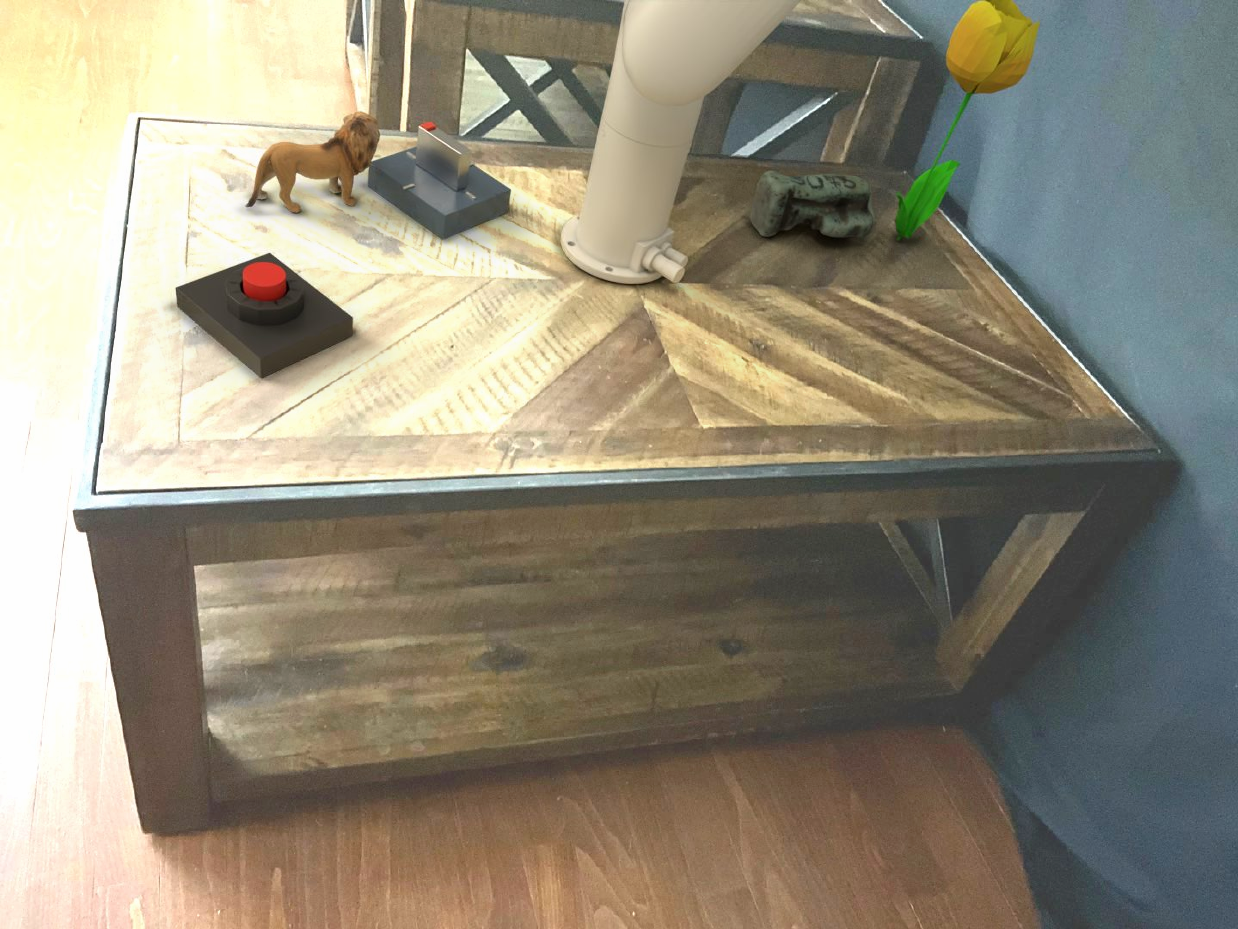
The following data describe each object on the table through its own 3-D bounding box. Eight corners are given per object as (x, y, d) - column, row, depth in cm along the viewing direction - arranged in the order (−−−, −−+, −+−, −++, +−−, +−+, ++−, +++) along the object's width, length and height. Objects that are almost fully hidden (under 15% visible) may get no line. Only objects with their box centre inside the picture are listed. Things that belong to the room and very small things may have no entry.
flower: (884, 258, 126) (999, 17, 105) (856, 221, 131) (960, -16, 111) (941, 259, 129) (1064, 24, 108) (912, 222, 134) (1023, -8, 114)
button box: (352, 336, 95) (354, 301, 92) (261, 378, 88) (259, 342, 85) (270, 271, 99) (269, 236, 96) (177, 307, 92) (173, 270, 90)
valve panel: (510, 211, 115) (513, 187, 113) (440, 240, 108) (443, 215, 106) (436, 162, 119) (439, 137, 117) (364, 187, 112) (366, 161, 110)
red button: (294, 293, 92) (294, 277, 90) (260, 307, 89) (260, 291, 88) (269, 273, 93) (268, 257, 92) (234, 286, 90) (233, 270, 89)
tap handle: (467, 187, 111) (471, 147, 108) (456, 191, 110) (461, 151, 107) (425, 159, 113) (429, 120, 110) (415, 163, 112) (418, 123, 109)
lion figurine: (362, 174, 114) (365, 99, 108) (387, 199, 112) (391, 124, 105) (235, 198, 106) (230, 118, 99) (258, 226, 103) (255, 146, 97)
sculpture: (817, 162, 131) (730, 197, 125) (850, 131, 125) (759, 166, 118) (863, 244, 131) (778, 283, 124) (899, 217, 124) (811, 257, 118)
